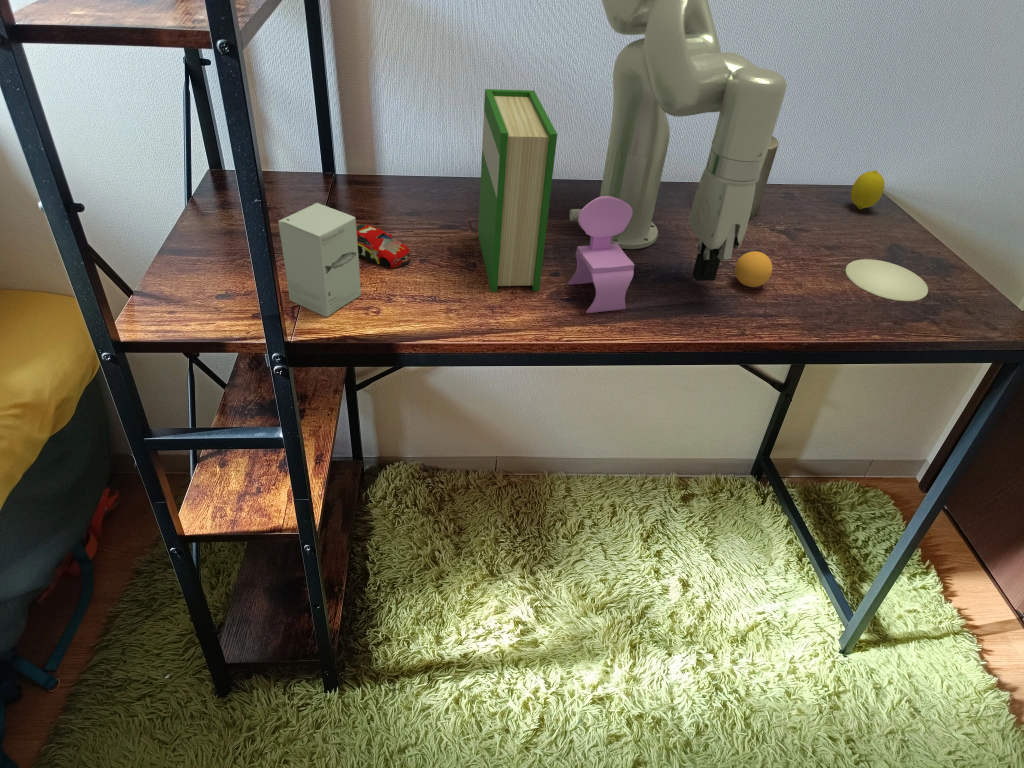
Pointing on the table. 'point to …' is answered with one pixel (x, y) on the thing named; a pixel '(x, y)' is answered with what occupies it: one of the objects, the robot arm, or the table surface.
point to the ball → (753, 269)
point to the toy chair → (604, 253)
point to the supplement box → (321, 258)
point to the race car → (381, 247)
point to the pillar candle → (764, 176)
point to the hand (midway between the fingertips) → (703, 278)
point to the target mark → (886, 280)
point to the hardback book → (515, 186)
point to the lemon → (867, 189)
